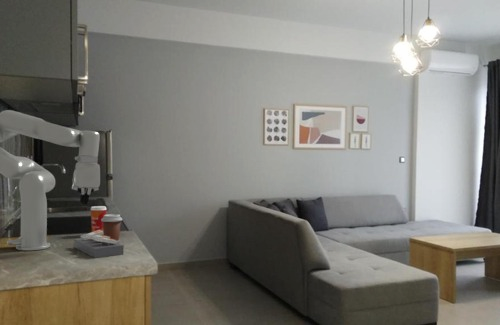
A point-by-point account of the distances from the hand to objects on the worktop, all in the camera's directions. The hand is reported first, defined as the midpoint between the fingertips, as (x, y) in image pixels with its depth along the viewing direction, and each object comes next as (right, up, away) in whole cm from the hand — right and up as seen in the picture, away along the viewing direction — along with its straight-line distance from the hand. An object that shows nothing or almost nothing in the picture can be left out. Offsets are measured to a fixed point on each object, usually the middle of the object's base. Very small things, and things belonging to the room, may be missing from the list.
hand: (84, 204), depth 173 cm
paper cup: (-5, -19, +30) cm, 36 cm away
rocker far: (+3, -13, 0) cm, 13 cm away
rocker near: (+12, -13, -10) cm, 21 cm away
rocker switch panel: (+8, -18, -5) cm, 21 cm away
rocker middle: (+8, -13, -5) cm, 16 cm away
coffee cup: (+7, -19, +15) cm, 25 cm away
